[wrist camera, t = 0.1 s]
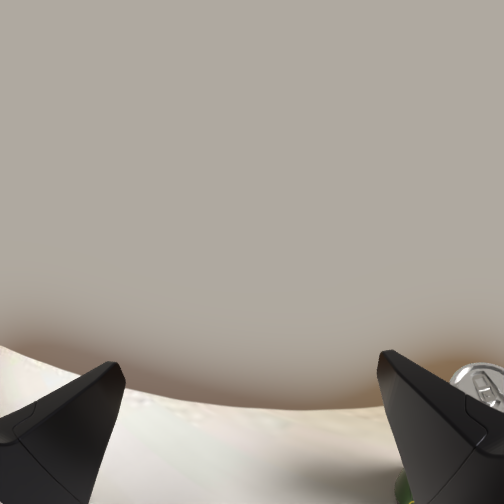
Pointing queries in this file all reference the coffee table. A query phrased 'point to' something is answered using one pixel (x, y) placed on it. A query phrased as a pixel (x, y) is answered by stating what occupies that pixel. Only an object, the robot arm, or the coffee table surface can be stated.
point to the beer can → (476, 385)
